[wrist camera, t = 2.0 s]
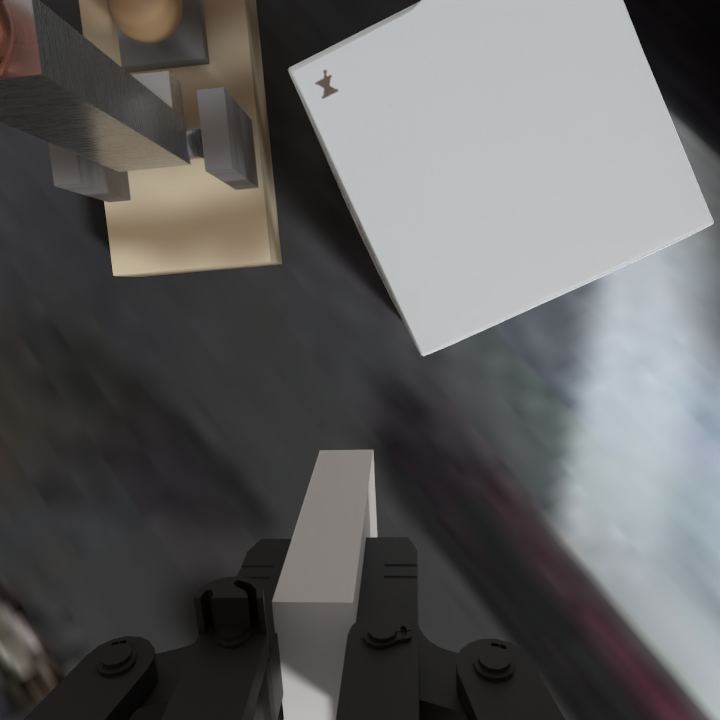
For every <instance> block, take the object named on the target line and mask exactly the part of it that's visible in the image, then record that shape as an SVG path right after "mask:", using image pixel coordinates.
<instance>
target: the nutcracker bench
mask: <svg viewBox="0 0 720 720" xmlns="http://www.w3.org/2000/svg"><path fill="white" fill-rule="evenodd" d="M79 6H80V14H81V22H82V30H83V36H84V37H85V38H86V39H88V40H89V41H90V42H91V43H93V44H94V45H95V46H96V47H97V48H99V49H100V50H101V51H102V52H104V53H105V54H106V55H107V56H109V57H110V58H111V59H112V60H113V61H115V62H116V63H117V64H118V65H120V66H121V67H122V68H123V69H125V70H126V71H127V72H128V73H129V74H131V75H135V74H144V73H153V72H162V71H169V72H170V73H171V74H172V75H173V76H174V77H175V78H176V79H177V80H178V81H179V82H180V83H181V89H182V98H183V107H184V116H185V119H186V126H187V129H191V128H201V135H202V144H203V153H204V158H203V159H193V160H190V162H191V165H185V166H175V167H165V168H155V169H145V170H135V171H125V172H118V171H115V170H113V169H111V168H104V167H102V165H101V164H99V163H97V162H94V161H92V160H89V159H87V158H85V157H82V156H80V155H78V154H75V153H73V152H70V151H68V150H66V149H63V148H61V147H59V146H56V145H54V144H52V143H49V150H50V157H51V165H52V172H53V180H54V186H56V187H60V188H63V189H66V190H69V191H73V192H76V193H79V194H83V195H86V196H89V197H93V198H96V199H99V200H103V201H104V205H105V213H106V221H107V229H108V237H109V245H110V253H111V261H112V268H113V276H129V277H143V276H154V275H165V274H176V273H187V272H198V271H210V270H221V269H232V268H243V267H254V266H265V265H276V264H282V260H281V249H280V239H279V229H278V219H277V209H276V198H275V188H274V178H273V168H272V158H271V147H270V137H269V127H268V117H267V107H266V96H265V86H264V76H263V66H262V56H261V45H260V35H259V25H258V15H257V5H256V0H79Z"/></svg>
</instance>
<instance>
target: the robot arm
mask: <svg viewBox="0 0 720 720" xmlns="http://www.w3.org/2000/svg"><path fill="white" fill-rule="evenodd" d="M194 602H195V609H196V616H197V623H198V630H199V636H198V638H197V640H196V642H195V643H193V644H191V645H189V646H186V647H183V648H179V649H175V650H171V651H167V652H162V653H158V654H155V650H154V647H153V646H152V644H151V643H150V642H149V641H148V640H145V639H143V638H141V637H129V636H126V637H122V638H117V639H113V640H111V641H108V642H106V643H104V644H102V645H100V646H98V647H97V648H96V649H94V650H93V651H92V652H90V653H89V654H88V655H87V656H86V657H85V658H84V659H83V660H82V661H81V662H80V663H79V664H78V665H77V666H76V667H75V668H74V669H73V670H72V671H71V672H70V673H69V674H68V675H67V676H66V677H65V678H64V679H63V680H62V681H61V682H60V683H59V684H58V685H57V686H56V687H55V688H54V689H53V690H52V691H51V693H50V694H49V695H48V696H47V697H46V698H45V699H44V700H43V701H42V702H41V703H40V704H39V705H38V706H37V707H36V708H35V709H34V710H33V711H32V712H31V713H30V714H29V715H28V716H27V717H26V718H25V719H24V720H277V719H278V715H279V711H280V707H281V703H282V705H283V715H284V720H565V719H564V717H563V715H562V713H561V712H560V710H559V708H558V706H557V705H556V703H555V701H554V699H553V698H552V696H551V694H550V693H549V691H548V689H547V687H546V686H545V684H544V682H543V680H542V679H541V677H540V675H539V673H538V672H537V670H536V668H535V666H534V665H533V663H532V661H531V659H530V658H529V657H528V656H527V655H526V654H525V653H524V651H523V650H522V649H520V648H518V647H517V646H515V645H513V644H511V643H510V642H506V641H502V640H498V639H480V640H477V641H474V642H471V643H469V644H467V645H466V646H465V647H464V648H463V649H461V650H460V652H459V653H456V652H452V651H448V650H446V649H443V648H440V647H438V646H436V645H435V644H433V643H431V642H430V641H429V640H428V639H427V638H426V637H425V636H424V635H423V633H422V632H421V630H420V628H419V602H418V565H417V549H416V548H415V546H414V545H413V543H412V542H411V541H410V539H409V538H408V537H377V520H376V499H375V477H374V456H373V450H320V452H319V455H318V458H317V461H316V464H315V467H314V471H313V474H312V477H311V480H310V483H309V486H308V490H307V493H306V496H305V499H304V502H303V505H302V508H301V512H300V515H299V518H298V521H297V524H296V527H295V531H294V534H293V537H292V539H261V540H260V541H259V542H258V543H257V544H255V545H254V546H253V547H252V548H251V549H250V550H249V551H248V552H247V554H246V557H245V559H244V562H243V564H242V568H241V569H240V571H239V574H238V576H235V577H226V578H222V579H219V580H216V581H213V582H211V583H209V584H208V585H206V586H205V587H203V588H202V589H200V591H199V592H198V593H197V594H196V596H195V597H194Z"/></svg>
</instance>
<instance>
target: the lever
mask: <svg viewBox="0 0 720 720" xmlns="http://www.w3.org/2000/svg"><path fill="white" fill-rule="evenodd" d="M0 122H2V123H4V124H7V125H9V126H11V127H14V128H16V129H18V130H21V131H23V132H26V133H28V134H30V135H33V136H35V137H37V138H40V139H42V140H44V141H47V142H49V143H52V144H54V145H56V146H59V147H61V148H63V149H66V150H68V151H70V152H73V153H75V154H78V155H80V156H82V157H85V158H87V159H89V160H92V161H94V162H97V163H99V164H101V165H102V167H104V168H111V169H113V170H115V171H118V172H125V171H135V170H145V169H155V168H165V167H175V166H185V165H191V162H190V160H193V159H203V158H204V153H203V144H202V135H201V128H191V129H187V126H186V119H185V116H184V107H183V98H182V89H181V83H180V82H179V81H178V80H177V79H176V78H175V77H174V76H173V75H172V74H171V73H170V72H169V71H162V72H153V73H144V74H135V75H131V74H129V73H128V72H127V71H126V70H125V69H123V68H122V67H121V66H120V65H118V64H117V63H116V62H115V61H113V60H112V59H111V58H110V57H109V56H107V55H106V54H105V53H104V52H102V51H101V50H100V49H99V48H97V47H96V46H95V45H94V44H93V43H91V42H90V41H89V40H88V39H86V38H85V37H84V36H83V35H81V34H80V33H79V32H78V31H77V30H75V29H74V28H73V27H72V26H70V25H69V24H68V23H67V22H65V21H64V20H63V19H62V18H61V17H59V16H58V15H57V14H56V13H54V12H53V11H52V10H51V9H49V8H48V7H47V6H46V5H45V4H43V3H42V2H41V1H40V0H0Z"/></svg>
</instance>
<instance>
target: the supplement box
mask: <svg viewBox="0 0 720 720" xmlns="http://www.w3.org/2000/svg"><path fill="white" fill-rule="evenodd" d="M288 72H289V74H290V77H291V79H292V81H293V83H294V86H295V88H296V90H297V92H298V94H299V97H300V99H301V101H302V104H303V106H304V108H305V111H306V113H307V115H308V118H309V120H310V122H311V125H312V127H313V129H314V132H315V134H316V136H317V139H318V141H319V143H320V145H321V148H322V150H323V152H324V155H325V157H326V159H327V162H328V164H329V166H330V168H331V171H332V173H333V175H334V177H335V180H336V182H337V184H338V187H339V189H340V191H341V193H342V196H343V198H344V200H345V202H346V205H347V207H348V209H349V211H350V213H351V216H352V218H353V220H354V222H355V224H356V227H357V229H358V231H359V233H360V235H361V237H362V240H363V242H364V244H365V246H366V248H367V250H368V252H369V255H370V257H371V259H372V261H373V263H374V265H375V267H376V269H377V271H378V273H379V275H380V277H381V279H382V281H383V283H384V286H385V288H386V290H387V292H388V294H389V296H390V298H391V299H392V301H393V303H394V305H395V307H396V309H397V311H398V313H399V315H400V316H401V318H402V320H403V322H404V324H405V326H406V328H407V330H408V331H409V333H410V335H411V337H412V339H413V341H414V343H415V345H416V347H417V349H418V351H419V352H420V353H421V355H422V356H425V355H428V354H431V353H433V352H436V351H438V350H440V349H443V348H445V347H447V346H450V345H452V344H454V343H457V342H459V341H461V340H463V339H466V338H468V337H470V336H472V335H474V334H477V333H479V332H481V331H483V330H485V329H488V328H490V327H492V326H494V325H496V324H499V323H501V322H503V321H505V320H507V319H510V318H512V317H514V316H516V315H518V314H521V313H523V312H525V311H527V310H529V309H532V308H534V307H536V306H538V305H540V304H543V303H545V302H547V301H549V300H552V299H554V298H556V297H558V296H561V295H563V294H565V293H567V292H569V291H572V290H574V289H576V288H578V287H581V286H583V285H585V284H587V283H589V282H592V281H594V280H596V279H598V278H601V277H603V276H605V275H607V274H609V273H611V272H614V271H616V270H618V269H620V268H622V267H625V266H627V265H629V264H631V263H633V262H635V261H638V260H640V259H642V258H644V257H646V256H648V255H651V254H653V253H655V252H657V251H659V250H661V249H664V248H666V247H668V246H670V245H672V244H675V243H677V242H679V241H681V240H683V239H685V238H687V237H689V236H691V235H693V234H695V233H697V232H699V231H701V230H703V229H705V228H707V227H709V226H711V225H712V224H713V223H714V220H713V218H712V216H711V214H710V212H709V209H708V207H707V204H706V202H705V199H704V197H703V194H702V192H701V190H700V187H699V185H698V182H697V180H696V177H695V175H694V172H693V170H692V168H691V165H690V163H689V160H688V158H687V155H686V153H685V151H684V148H683V146H682V143H681V141H680V138H679V136H678V134H677V131H676V129H675V126H674V124H673V122H672V119H671V117H670V114H669V112H668V110H667V107H666V105H665V102H664V100H663V98H662V95H661V93H660V90H659V88H658V85H657V83H656V80H655V78H654V76H653V73H652V71H651V69H650V66H649V64H648V62H647V59H646V57H645V54H644V52H643V49H642V47H641V44H640V42H639V39H638V37H637V34H636V32H635V29H634V26H633V24H632V21H631V19H630V16H629V14H628V11H627V9H626V6H625V3H624V1H623V0H421V1H419V2H417V3H415V4H414V5H412V6H410V7H408V8H406V9H404V10H402V11H400V12H398V13H396V14H394V15H392V16H390V17H388V18H386V19H384V20H382V21H380V22H378V23H376V24H374V25H372V26H370V27H368V28H366V29H364V30H362V31H360V32H358V33H356V34H355V35H353V36H351V37H349V38H347V39H345V40H343V41H341V42H339V43H337V44H335V45H333V46H331V47H329V48H327V49H325V50H323V51H321V52H319V53H317V54H315V55H313V56H311V57H309V58H307V59H305V60H303V61H301V62H299V63H297V64H295V65H293V66H291V67H289V69H288Z"/></svg>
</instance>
